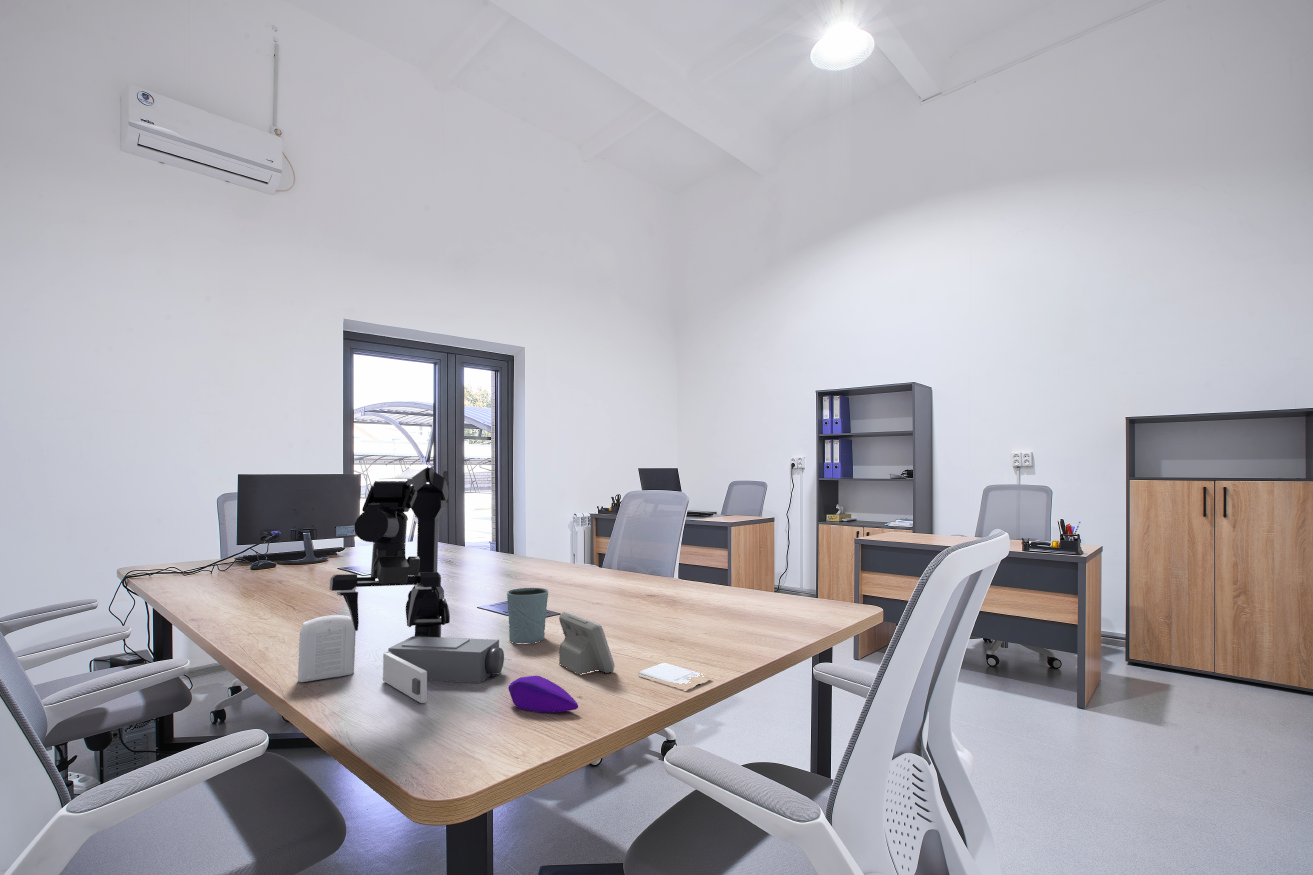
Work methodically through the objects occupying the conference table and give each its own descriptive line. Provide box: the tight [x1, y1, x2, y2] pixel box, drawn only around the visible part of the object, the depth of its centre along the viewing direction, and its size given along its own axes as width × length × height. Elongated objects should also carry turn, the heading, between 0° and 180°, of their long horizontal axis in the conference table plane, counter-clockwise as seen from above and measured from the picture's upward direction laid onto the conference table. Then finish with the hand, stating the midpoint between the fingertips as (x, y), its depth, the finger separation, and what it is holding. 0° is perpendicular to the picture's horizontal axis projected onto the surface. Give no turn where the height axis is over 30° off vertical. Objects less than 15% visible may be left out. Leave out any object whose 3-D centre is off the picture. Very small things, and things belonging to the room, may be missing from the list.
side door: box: [382, 651, 428, 704], centre depth 115 cm, size 2×18×5 cm, turn 46°
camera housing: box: [387, 635, 505, 684], centre depth 125 cm, size 9×22×6 cm, turn 81°
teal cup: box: [506, 587, 549, 644], centre depth 150 cm, size 10×10×12 cm
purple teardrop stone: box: [508, 675, 579, 714], centre depth 107 cm, size 5×5×15 cm
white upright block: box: [297, 614, 357, 683], centre depth 124 cm, size 10×4×12 cm, turn 123°
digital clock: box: [558, 611, 615, 675], centre depth 129 cm, size 16×9×11 cm, turn 26°
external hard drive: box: [638, 662, 704, 684], centre depth 121 cm, size 2×8×12 cm
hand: (383, 628), depth 112 cm, fingers open, 9 cm apart
